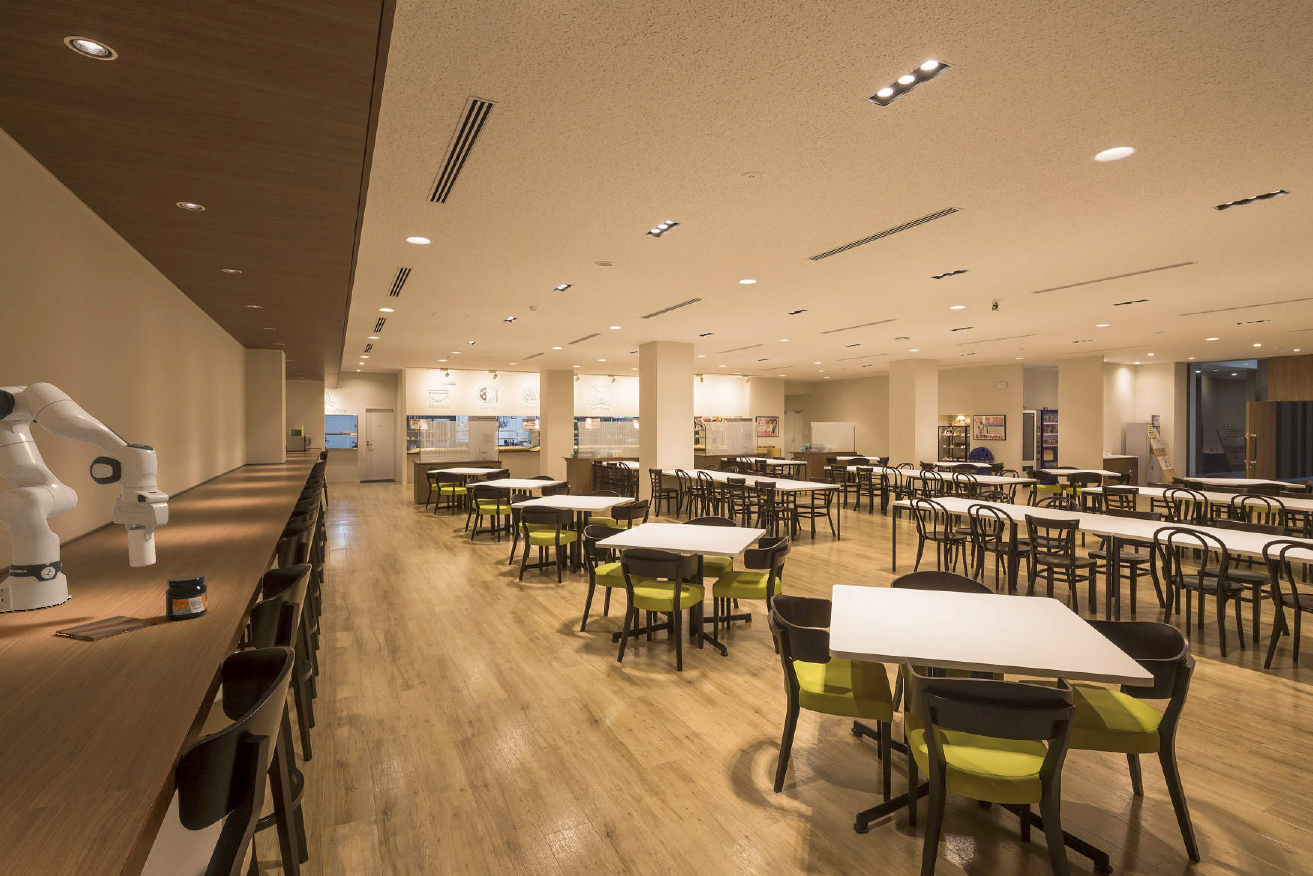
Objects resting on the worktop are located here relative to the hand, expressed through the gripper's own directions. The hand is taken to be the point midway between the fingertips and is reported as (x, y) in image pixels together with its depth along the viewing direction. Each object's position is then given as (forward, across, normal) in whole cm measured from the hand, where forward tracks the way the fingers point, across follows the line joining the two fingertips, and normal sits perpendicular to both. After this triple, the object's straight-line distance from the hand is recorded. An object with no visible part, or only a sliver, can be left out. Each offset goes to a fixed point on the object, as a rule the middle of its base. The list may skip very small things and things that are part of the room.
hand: (140, 539), depth 202 cm
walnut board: (+23, +11, -16) cm, 30 cm away
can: (+8, +1, +1) cm, 9 cm away
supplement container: (+23, +19, +1) cm, 30 cm away
